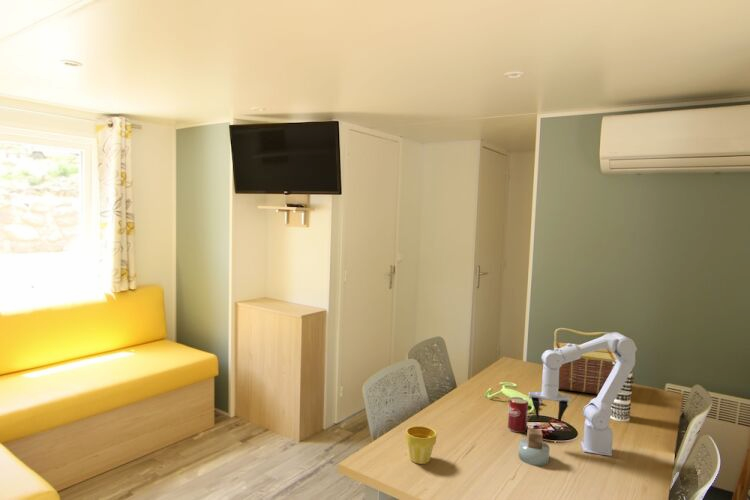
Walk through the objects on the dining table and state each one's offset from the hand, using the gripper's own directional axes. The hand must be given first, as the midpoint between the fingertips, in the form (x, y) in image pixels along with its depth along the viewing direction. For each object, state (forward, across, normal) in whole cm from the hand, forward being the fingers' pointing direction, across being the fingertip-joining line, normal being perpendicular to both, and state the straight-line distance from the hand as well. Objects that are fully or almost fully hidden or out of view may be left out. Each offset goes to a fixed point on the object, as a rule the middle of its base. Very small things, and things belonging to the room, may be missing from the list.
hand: (548, 419), depth 177 cm
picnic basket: (+11, -24, -73) cm, 78 cm away
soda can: (+10, +10, -12) cm, 19 cm away
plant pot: (+10, +44, +25) cm, 51 cm away
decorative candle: (+11, -33, -39) cm, 52 cm away
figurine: (+11, +10, -43) cm, 46 cm away
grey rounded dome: (+10, +6, +11) cm, 16 cm away
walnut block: (+6, +6, +11) cm, 14 cm away
